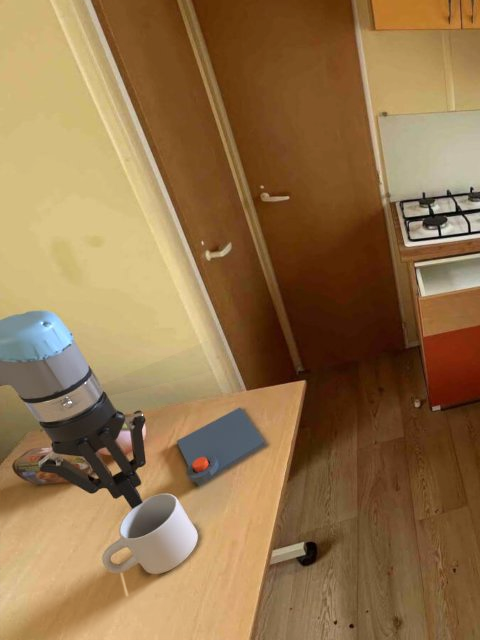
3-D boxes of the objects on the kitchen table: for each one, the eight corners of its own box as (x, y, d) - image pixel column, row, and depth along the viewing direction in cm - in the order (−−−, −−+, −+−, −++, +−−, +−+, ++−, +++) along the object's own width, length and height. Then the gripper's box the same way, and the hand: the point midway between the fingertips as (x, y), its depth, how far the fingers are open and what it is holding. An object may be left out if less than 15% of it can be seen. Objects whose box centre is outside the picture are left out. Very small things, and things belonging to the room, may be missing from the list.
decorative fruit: (160, 431, 105) (144, 402, 100) (145, 459, 98) (127, 429, 93) (116, 439, 102) (97, 410, 98) (96, 469, 95) (75, 439, 91)
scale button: (197, 474, 91) (194, 469, 91) (193, 467, 93) (190, 462, 92) (210, 466, 93) (208, 461, 92) (207, 459, 95) (204, 454, 94)
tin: (23, 485, 92) (1, 460, 88) (36, 472, 95) (15, 447, 91) (97, 479, 93) (79, 454, 89) (107, 467, 96) (90, 441, 92)
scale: (195, 491, 91) (190, 482, 89) (174, 446, 101) (170, 438, 99) (267, 447, 101) (263, 438, 99) (241, 410, 111) (238, 402, 109)
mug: (190, 517, 86) (170, 483, 81) (204, 546, 81) (184, 512, 76) (115, 568, 78) (87, 533, 73) (126, 603, 73) (97, 569, 68)
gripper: (11, 447, 57) (90, 545, 68) (132, 392, 66) (185, 487, 77) (7, 418, 61) (82, 515, 72) (121, 370, 70) (173, 463, 81)
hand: (135, 500), depth 75 cm, fingers closed
